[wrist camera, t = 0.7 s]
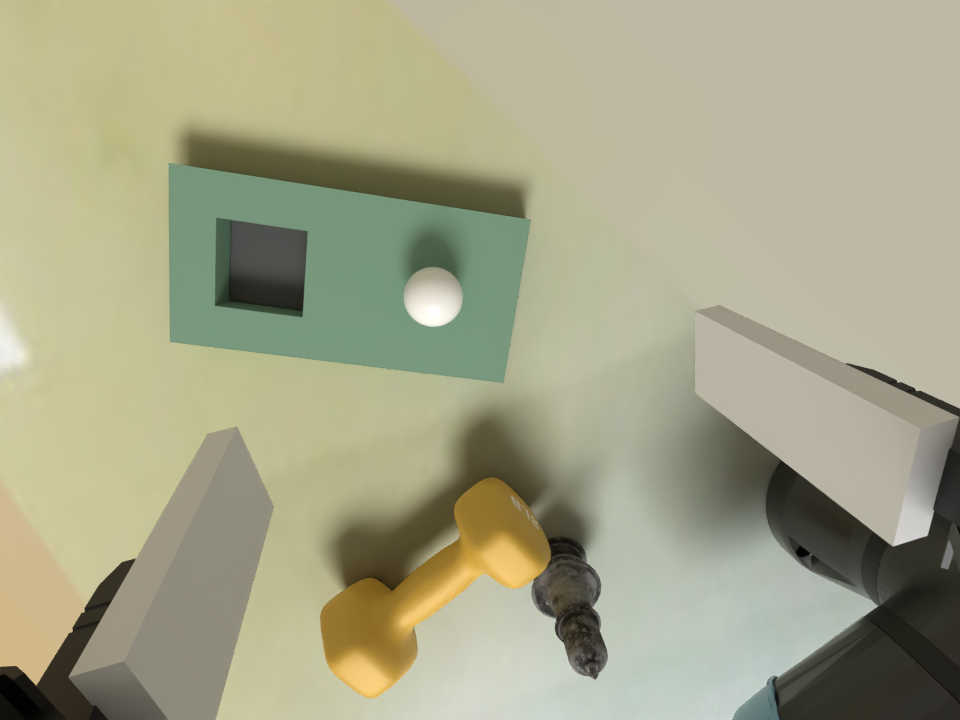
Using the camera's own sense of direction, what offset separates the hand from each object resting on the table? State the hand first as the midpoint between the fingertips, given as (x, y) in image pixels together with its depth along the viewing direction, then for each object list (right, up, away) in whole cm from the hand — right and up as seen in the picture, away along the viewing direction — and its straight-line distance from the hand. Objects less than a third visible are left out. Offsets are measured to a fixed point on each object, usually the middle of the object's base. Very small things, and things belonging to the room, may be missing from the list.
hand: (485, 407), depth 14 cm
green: (-9, +8, +23) cm, 26 cm away
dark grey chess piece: (+7, -17, +31) cm, 36 cm away
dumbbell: (-4, -15, +30) cm, 34 cm away
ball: (-3, +6, +20) cm, 21 cm away
